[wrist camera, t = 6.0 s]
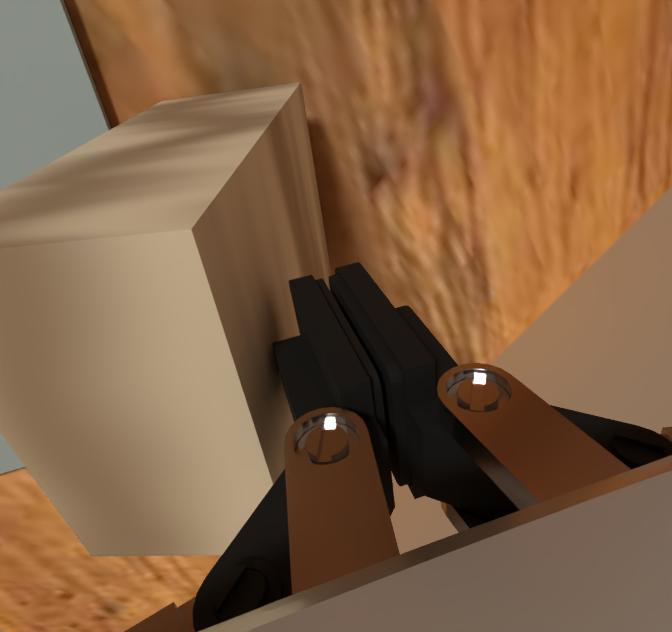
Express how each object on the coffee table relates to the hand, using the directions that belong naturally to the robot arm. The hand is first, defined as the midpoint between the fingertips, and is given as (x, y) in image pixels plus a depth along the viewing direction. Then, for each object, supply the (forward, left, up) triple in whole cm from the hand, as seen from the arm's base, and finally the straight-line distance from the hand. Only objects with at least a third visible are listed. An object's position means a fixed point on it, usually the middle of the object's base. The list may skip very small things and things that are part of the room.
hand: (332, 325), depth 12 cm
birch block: (0, 0, -10) cm, 10 cm away
